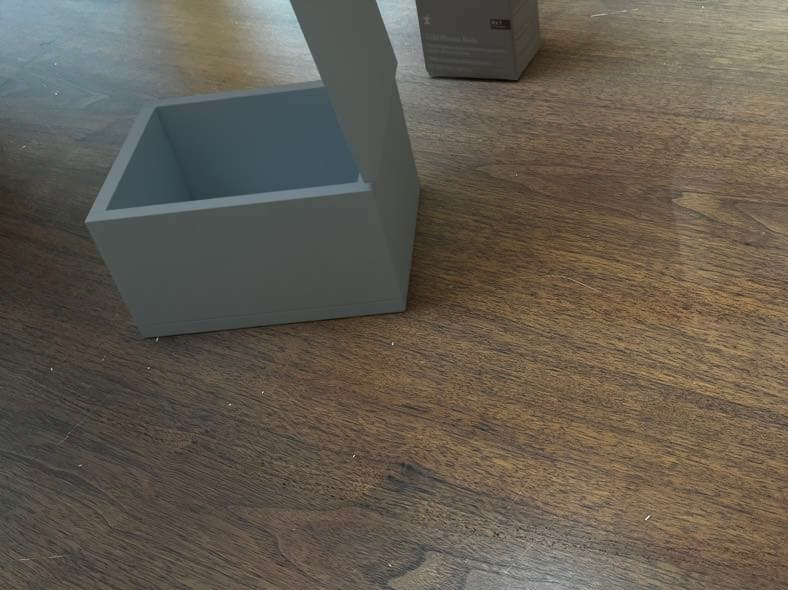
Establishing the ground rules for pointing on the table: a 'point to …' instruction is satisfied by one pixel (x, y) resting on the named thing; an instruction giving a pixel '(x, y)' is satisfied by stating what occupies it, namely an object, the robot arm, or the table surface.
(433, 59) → the cosmetic box
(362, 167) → the lid
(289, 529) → the table surface
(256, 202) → the compartment
